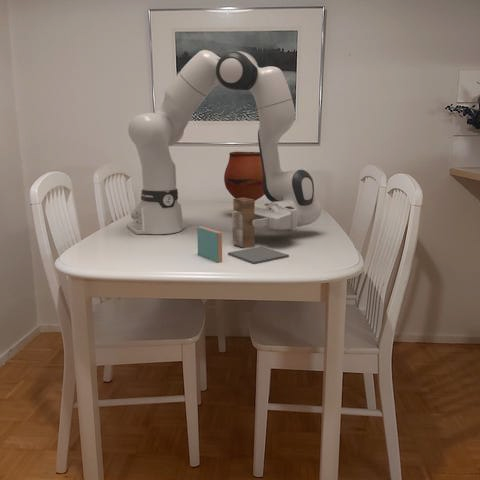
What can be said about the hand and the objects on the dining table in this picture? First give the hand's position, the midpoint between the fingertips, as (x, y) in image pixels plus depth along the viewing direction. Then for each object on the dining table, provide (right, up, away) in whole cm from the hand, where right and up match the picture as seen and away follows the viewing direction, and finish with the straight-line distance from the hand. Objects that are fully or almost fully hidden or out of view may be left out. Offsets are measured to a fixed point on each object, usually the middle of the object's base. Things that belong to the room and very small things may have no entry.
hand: (242, 220), depth 146 cm
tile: (-9, -11, -12) cm, 18 cm away
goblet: (+2, +3, +49) cm, 49 cm away
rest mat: (+4, -10, -10) cm, 15 cm away
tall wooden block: (+1, -7, +2) cm, 8 cm away
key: (+14, +8, +70) cm, 72 cm away
